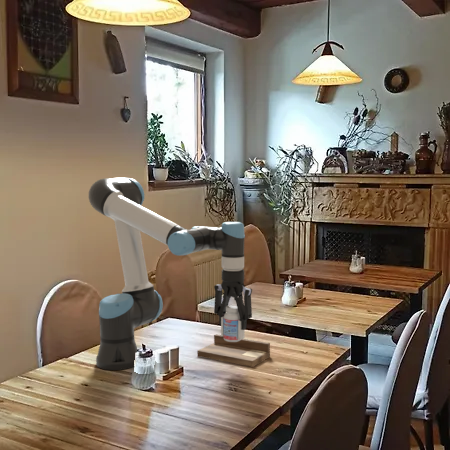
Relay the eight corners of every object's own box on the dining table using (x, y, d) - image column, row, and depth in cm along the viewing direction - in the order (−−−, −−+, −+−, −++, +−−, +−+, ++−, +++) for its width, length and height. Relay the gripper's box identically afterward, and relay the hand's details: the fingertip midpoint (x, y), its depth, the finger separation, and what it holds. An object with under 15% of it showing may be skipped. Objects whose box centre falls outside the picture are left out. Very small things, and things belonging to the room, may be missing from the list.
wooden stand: (252, 366, 199) (252, 352, 198) (197, 356, 211) (197, 342, 211) (270, 356, 209) (269, 343, 208) (216, 347, 221) (216, 334, 221)
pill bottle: (220, 340, 196) (220, 307, 195) (228, 336, 201) (228, 303, 200) (236, 343, 193) (236, 310, 192) (244, 338, 199) (245, 305, 197)
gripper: (263, 270, 193) (263, 339, 195) (215, 264, 203) (215, 329, 206) (251, 273, 186) (251, 344, 189) (202, 267, 197) (203, 335, 199)
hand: (232, 336), depth 197 cm, fingers closed on pill bottle, 6 cm apart
